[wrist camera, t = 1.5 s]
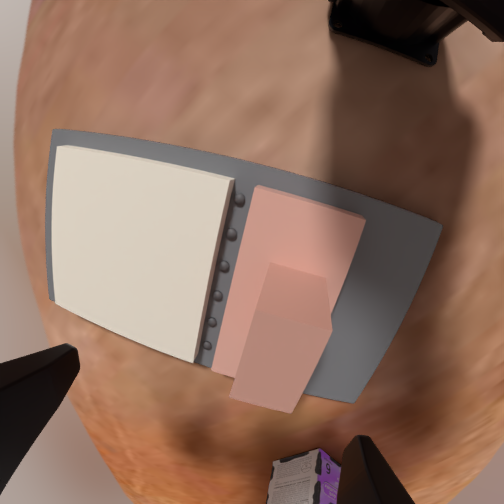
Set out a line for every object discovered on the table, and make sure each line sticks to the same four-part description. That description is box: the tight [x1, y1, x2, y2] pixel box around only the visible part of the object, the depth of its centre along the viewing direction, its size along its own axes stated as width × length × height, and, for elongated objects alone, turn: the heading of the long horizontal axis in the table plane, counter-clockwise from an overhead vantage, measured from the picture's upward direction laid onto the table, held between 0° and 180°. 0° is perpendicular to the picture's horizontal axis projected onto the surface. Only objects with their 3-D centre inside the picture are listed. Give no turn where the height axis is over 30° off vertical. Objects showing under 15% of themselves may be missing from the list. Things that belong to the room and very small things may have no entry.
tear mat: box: [45, 129, 443, 403], centre depth 19 cm, size 26×14×1 cm, turn 76°
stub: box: [211, 185, 366, 414], centre depth 15 cm, size 6×12×6 cm, turn 166°
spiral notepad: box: [52, 145, 245, 363], centre depth 18 cm, size 13×12×1 cm
